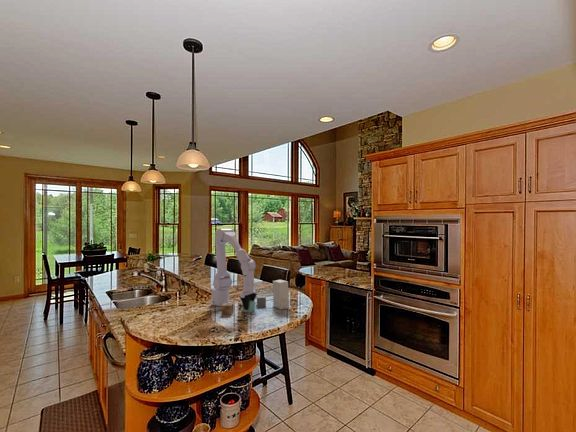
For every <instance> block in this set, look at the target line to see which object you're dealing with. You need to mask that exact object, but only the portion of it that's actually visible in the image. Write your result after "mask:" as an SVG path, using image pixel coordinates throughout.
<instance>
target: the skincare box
mask: <svg viewBox="0 0 576 432" xmlns="http://www.w3.org/2000/svg"><path fill="white" fill-rule="evenodd" d="M289 291H290V290H289V281H287V280H283V279H277V280H272V294H273V295H272V298H273V299H272V300H273V302H272V303H273V307H274V308H276V309H278V310H284V309H285V310H286V309H290V298H289V297H290V296H289V295H290V294H289V293H290V292H289Z"/></svg>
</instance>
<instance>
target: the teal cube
mask: <svg viewBox="0 0 576 432" xmlns="http://www.w3.org/2000/svg"><path fill="white" fill-rule="evenodd" d="M255 311H256V301H255V300H254V301H252V300H250V301H249V308H248V310H244V307H243V303H242V305H241V312H243V313H250V314H251V313H252V312H255Z"/></svg>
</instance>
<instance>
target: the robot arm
mask: <svg viewBox="0 0 576 432" xmlns="http://www.w3.org/2000/svg"><path fill="white" fill-rule="evenodd" d="M236 235H237V234H236V232H235V229H233V228H217V230H216V231H215V232H214V241H215V256H216V259H215V260H216V268H217V269H216V272H217V273H216V274H214V275H213V282H212V286H213V289H212V290H211V291H212V292H211V303H210V305H211V306H216V307H217V306H218V307H222V305H223V304H224V303H233V302H232V301H230V293H229V292H230V288H231V286H232V284H233V281H232V277H231V274H230V273H229V272H228V270H227V269H228V268H227V256H226V244H227V243H229V244H230V246H231V247H232V249H234V251H235V257H236V258H237V260H238V261H239V263H240V264H241V265H240V269H241V271H242V275H243V278H242V281H243V282H242V283H243V284H242V286H243V287H242V289H243V290H242V292H241V293H240V294H239V295H240V296H239V299H241V301H242V303H243V307H244V310H248V308H249V301H250V300H252V301H255V300H256V298H257V296H258V293H257V288H256V287H255V270H256V269H257V263H256V261H255V260H254V259H252V258H250V255H249V254H248V252H247V250H245V249H244V248H242V246H241V245H240V243H239V241H238V239H237V237H236Z"/></svg>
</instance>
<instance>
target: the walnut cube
mask: <svg viewBox="0 0 576 432" xmlns="http://www.w3.org/2000/svg"><path fill="white" fill-rule="evenodd" d="M234 306H235V303H234V302H232V303H224V304H223V305H222V306H221V316H232V315H233V314H234V312H235V311H234V309H235V307H234Z"/></svg>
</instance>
